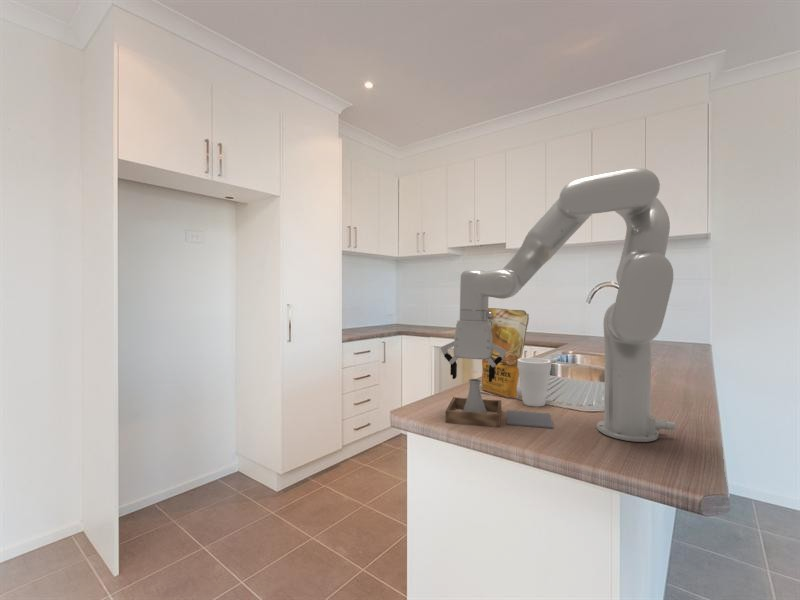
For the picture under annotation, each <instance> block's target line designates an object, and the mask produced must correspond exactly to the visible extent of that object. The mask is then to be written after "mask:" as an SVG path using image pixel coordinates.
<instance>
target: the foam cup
mask: <svg viewBox="0 0 800 600" xmlns="http://www.w3.org/2000/svg"><path fill="white" fill-rule="evenodd" d="M518 369H519V383H520V384H519V385H520V390H521V391H520V393H521V397H522V404H524V405H525V406H530V407H543V406H545V405H546V400H547V393H548V387H549V380H550V373H551V369H552V361H551V360H550V359H547V358H541V357H522V358H519V359H518Z"/></svg>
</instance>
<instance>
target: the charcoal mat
mask: <svg viewBox="0 0 800 600" xmlns="http://www.w3.org/2000/svg"><path fill="white" fill-rule="evenodd" d="M506 417H507V418H506V425H507V426H517V427H528V428H541V429H554V424H553V421H552V418H551V415H550V413H547V412H537V411H536V412H534V411H521V410H520V411H519V410H507V415H506Z"/></svg>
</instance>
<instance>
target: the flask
mask: <svg viewBox="0 0 800 600" xmlns="http://www.w3.org/2000/svg"><path fill="white" fill-rule="evenodd" d="M468 383H469V389H468V394H467V397H466V398H467V400H466V403H465V406H464V409H462V411H464V412H477V413H488V411H486V408H485V405H484V403H483V400H482V399H483V397H482V393H481V389H480V388H481V385H480V383H482V379H479V378H469V379H468Z"/></svg>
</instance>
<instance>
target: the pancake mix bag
mask: <svg viewBox="0 0 800 600" xmlns="http://www.w3.org/2000/svg"><path fill="white" fill-rule="evenodd" d="M488 311H489V312H491V313H494V317H493V318H489V319H488V322H491V326H492V339H493V343H494V344H495V345H497V346H499V347H501V348H502V349H504V350H506V354H505V356H504V357H503V359H502V361H501V362H500V363H498V364H497V365H496V366H495V379H494V378H492V382H490V381H489V366H490V364H489V362H488V361H487V360H486V359H485V360H483V359H481V366H482V367H481V368H482V373H481V385H480V388H481V389H482V390H483V391H484V392H487V393H490V394H494V395H495V396H496V395H497V396H500V397H503V398H506V399H507V398H508V399H512V398H513V399H518V397H519V396H518V392H517V387H518V383H519V379H520V377H519V369H518V359H519V358H523V353H524V348H525V343H526V335H527V330H528V326H529V325H528V324H529V319H530V318H529V313H527V312H526V310H522V309H506V308H496V307H494V308H493V307H488ZM499 354H500V353H499V352H497V351H496V350H494V349H493V352H492V355H491V357H492V358H493V359H494V360H495V359H496V358H497V357H498V356H499Z"/></svg>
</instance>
